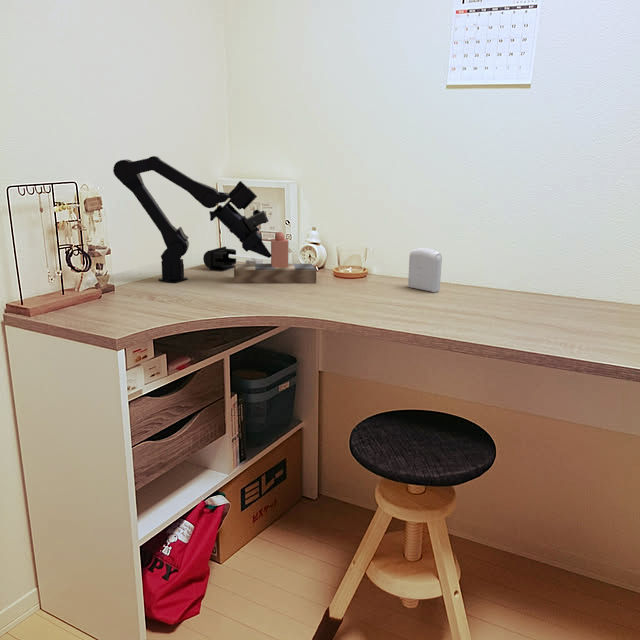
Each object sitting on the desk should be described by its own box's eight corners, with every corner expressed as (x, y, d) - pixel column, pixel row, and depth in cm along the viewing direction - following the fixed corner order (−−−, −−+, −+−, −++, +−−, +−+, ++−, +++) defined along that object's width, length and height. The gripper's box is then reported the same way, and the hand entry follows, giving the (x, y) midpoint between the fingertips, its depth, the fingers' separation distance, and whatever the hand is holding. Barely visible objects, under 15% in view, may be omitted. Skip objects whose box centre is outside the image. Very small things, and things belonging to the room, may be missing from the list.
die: (255, 273, 211) (255, 261, 210) (245, 272, 213) (245, 260, 212) (262, 271, 215) (262, 259, 213) (252, 270, 216) (252, 258, 215)
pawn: (271, 267, 198) (271, 233, 196) (271, 264, 203) (271, 230, 200) (288, 267, 199) (288, 233, 196) (286, 264, 204) (287, 230, 201)
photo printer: (405, 287, 197) (407, 246, 194) (414, 285, 200) (416, 245, 196) (433, 293, 190) (436, 251, 186) (441, 291, 193) (444, 249, 189)
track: (234, 283, 196) (233, 268, 195) (234, 277, 205) (234, 263, 204) (316, 283, 199) (316, 268, 198) (312, 277, 208) (313, 263, 207)
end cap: (218, 265, 225) (218, 245, 223) (236, 267, 222) (236, 247, 220) (203, 270, 216) (202, 249, 214) (221, 272, 213) (221, 251, 211)
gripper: (253, 204, 186) (291, 242, 190) (251, 198, 204) (286, 234, 208) (226, 232, 187) (264, 269, 191) (226, 224, 205) (262, 258, 209)
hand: (270, 256), depth 200 cm, fingers closed
